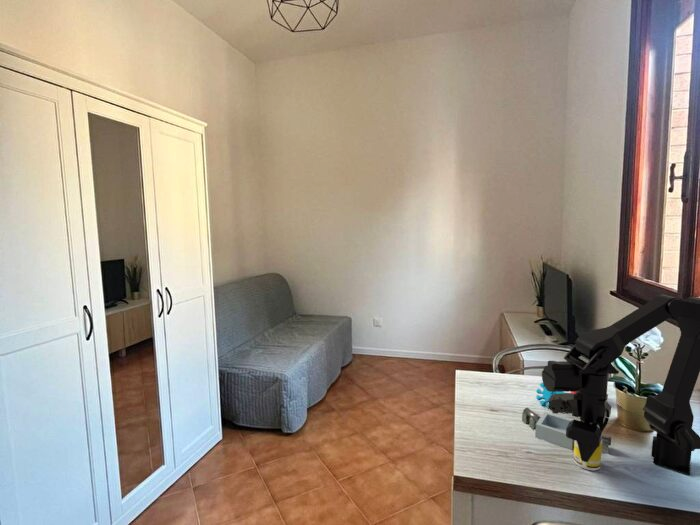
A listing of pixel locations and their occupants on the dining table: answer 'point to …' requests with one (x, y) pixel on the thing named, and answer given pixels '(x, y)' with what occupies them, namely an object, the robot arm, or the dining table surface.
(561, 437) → the housing
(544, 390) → the gear
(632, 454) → the dining table surface
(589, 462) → the supplement bottle
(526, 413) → the shaft
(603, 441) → the shaft
